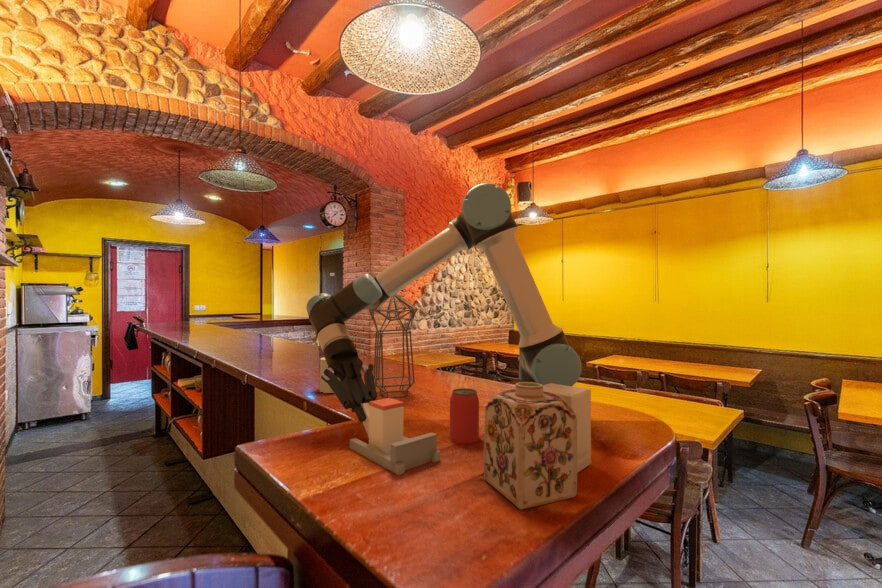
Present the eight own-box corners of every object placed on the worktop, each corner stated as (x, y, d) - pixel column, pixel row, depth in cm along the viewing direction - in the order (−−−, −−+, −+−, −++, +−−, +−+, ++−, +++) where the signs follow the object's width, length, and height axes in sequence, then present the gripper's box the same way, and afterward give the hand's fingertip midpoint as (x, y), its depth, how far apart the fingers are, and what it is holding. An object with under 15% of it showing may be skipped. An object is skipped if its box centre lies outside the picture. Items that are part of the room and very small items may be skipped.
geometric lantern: (420, 399, 129) (419, 292, 129) (372, 403, 125) (371, 293, 125) (411, 388, 144) (410, 292, 144) (368, 391, 140) (367, 293, 140)
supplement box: (592, 464, 78) (593, 388, 78) (571, 478, 72) (572, 396, 72) (551, 451, 84) (551, 381, 85) (528, 463, 78) (529, 387, 78)
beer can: (477, 451, 84) (477, 395, 84) (446, 448, 85) (447, 393, 86) (480, 441, 91) (480, 388, 91) (452, 438, 92) (452, 387, 92)
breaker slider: (368, 449, 80) (369, 401, 81) (388, 443, 84) (389, 397, 84) (382, 456, 77) (383, 406, 77) (403, 450, 80) (403, 402, 80)
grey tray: (343, 455, 81) (343, 425, 81) (391, 442, 89) (391, 414, 89) (401, 490, 66) (402, 453, 66) (453, 470, 74) (453, 437, 74)
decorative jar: (519, 512, 60) (520, 393, 60) (481, 480, 71) (482, 379, 71) (580, 497, 65) (580, 387, 65) (536, 469, 75) (536, 375, 76)
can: (314, 393, 136) (315, 358, 136) (326, 387, 145) (327, 354, 145) (339, 394, 134) (340, 359, 135) (350, 388, 143) (350, 355, 144)
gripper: (355, 354, 102) (392, 435, 90) (307, 358, 94) (339, 449, 81) (366, 335, 98) (406, 417, 86) (317, 338, 90) (353, 429, 77)
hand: (374, 432), depth 83 cm, fingers closed
